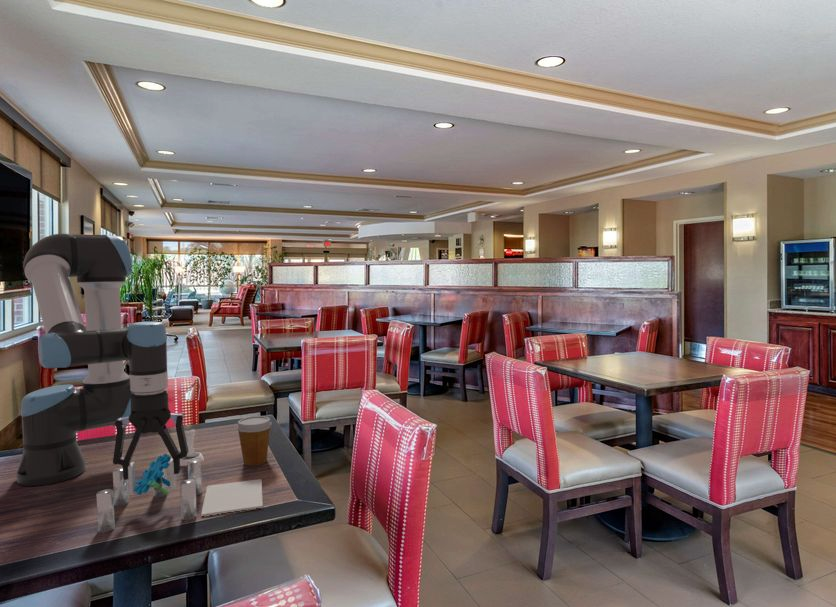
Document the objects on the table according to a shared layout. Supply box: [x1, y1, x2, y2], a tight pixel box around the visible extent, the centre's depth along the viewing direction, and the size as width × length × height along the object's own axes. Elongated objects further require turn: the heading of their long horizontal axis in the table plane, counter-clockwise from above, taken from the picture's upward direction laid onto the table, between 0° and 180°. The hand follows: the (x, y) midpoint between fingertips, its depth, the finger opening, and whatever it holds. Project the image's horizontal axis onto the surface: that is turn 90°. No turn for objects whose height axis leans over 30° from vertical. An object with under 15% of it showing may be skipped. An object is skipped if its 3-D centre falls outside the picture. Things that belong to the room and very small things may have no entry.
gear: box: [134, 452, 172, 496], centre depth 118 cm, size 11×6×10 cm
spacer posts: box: [96, 459, 203, 534], centre depth 118 cm, size 19×18×8 cm
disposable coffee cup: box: [236, 415, 272, 467], centre depth 146 cm, size 10×10×12 cm
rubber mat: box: [200, 478, 264, 517], centre depth 123 cm, size 13×16×1 cm
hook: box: [177, 429, 205, 467], centre depth 146 cm, size 8×12×7 cm
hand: (152, 489), depth 117 cm, fingers closed on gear, 8 cm apart
